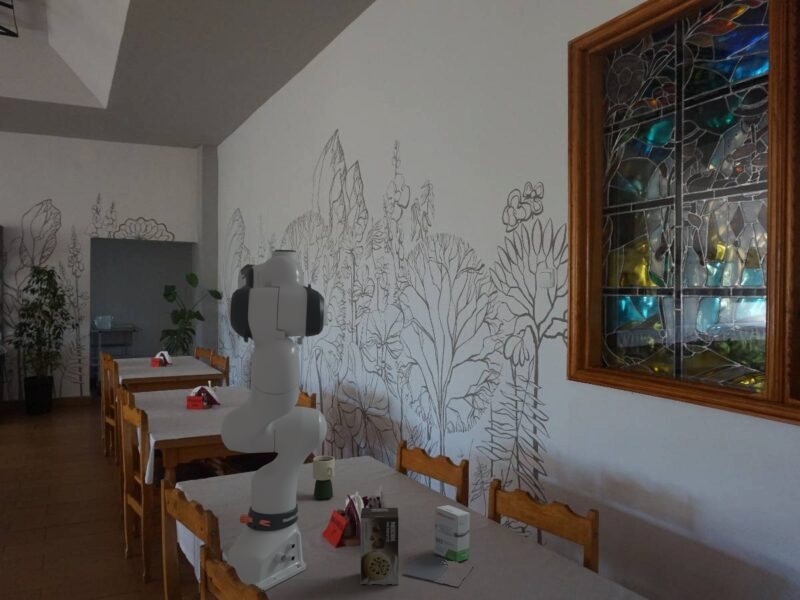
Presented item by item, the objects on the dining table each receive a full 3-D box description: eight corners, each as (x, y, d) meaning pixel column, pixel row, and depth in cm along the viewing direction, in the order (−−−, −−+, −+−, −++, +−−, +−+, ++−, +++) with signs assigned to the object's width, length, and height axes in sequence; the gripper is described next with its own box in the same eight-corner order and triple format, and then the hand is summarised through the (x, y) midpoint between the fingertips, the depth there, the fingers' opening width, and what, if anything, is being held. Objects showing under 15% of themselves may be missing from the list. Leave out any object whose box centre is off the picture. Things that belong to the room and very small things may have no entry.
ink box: (469, 559, 160) (471, 512, 160) (455, 563, 157) (457, 515, 157) (446, 548, 167) (448, 503, 167) (432, 552, 164) (434, 506, 164)
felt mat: (458, 587, 145) (458, 585, 145) (403, 575, 151) (403, 573, 151) (473, 566, 156) (473, 565, 156) (421, 555, 162) (421, 554, 162)
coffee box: (397, 572, 152) (399, 507, 152) (398, 585, 146) (399, 517, 146) (360, 572, 152) (361, 506, 152) (359, 585, 146) (360, 516, 145)
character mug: (341, 500, 202) (342, 460, 202) (322, 505, 198) (323, 464, 197) (324, 491, 211) (324, 452, 210) (305, 495, 206) (306, 456, 206)
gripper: (249, 304, 185) (249, 348, 189) (318, 304, 190) (317, 347, 194) (249, 298, 191) (249, 341, 195) (316, 298, 196) (315, 340, 199)
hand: (284, 344), depth 194 cm, fingers open, 8 cm apart
